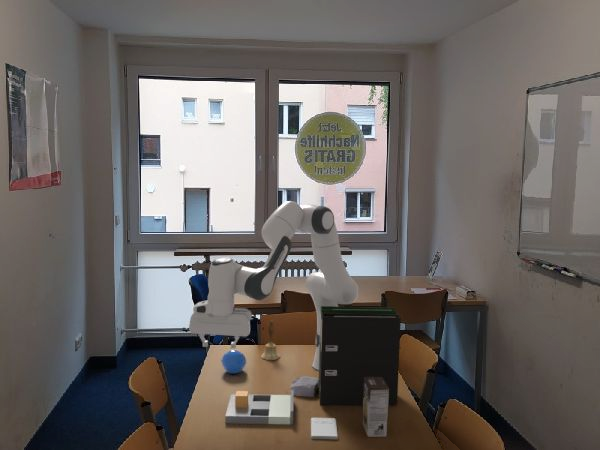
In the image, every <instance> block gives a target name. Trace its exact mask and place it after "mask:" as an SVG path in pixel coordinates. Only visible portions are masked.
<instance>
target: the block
mask: <svg viewBox="0 0 600 450" xmlns="http://www.w3.org/2000/svg"><path fill="white" fill-rule="evenodd" d="M235 394H236V395H235V407H246V408H247V406H248V394H249V391H248V390H236V392H235Z"/></svg>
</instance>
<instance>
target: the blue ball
mask: <svg viewBox="0 0 600 450" xmlns="http://www.w3.org/2000/svg"><path fill="white" fill-rule="evenodd" d="M221 358H222V359H220V361H221V365H222V367H223V369H224V370H225V372H227V373H229V374H232V375H233V374H239V373H241V372H242V371H243V370H244V369H245V367H246V365H247V358H246V356H245V355H244V353H243V352H241V351H239V350H234V349H233V350H229V351H227V352H225V353H224V354H223V356H222V357H221Z"/></svg>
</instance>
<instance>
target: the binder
mask: <svg viewBox="0 0 600 450" xmlns="http://www.w3.org/2000/svg"><path fill="white" fill-rule="evenodd" d="M401 320H402V317H400V315H399V314H397V310H395V307H374V306H373V307H372V306H371V307H367V306H366V307H365V306H363V307H362V306H338V307H336V306H321V309H320V349H319V370H318V378H319V386H318V396H319V397H318V398H319V407H321V406H323V407H334V406H335V407H338V406H339V407H363V388H364V377H383V379H384V381H385V382H386V384H387V386H388V387H389V398H388V407H390V406H389V405H397V406H398V397H399V396H398V393H399V390H398V389H399V371H400V370H399V369H400V368H399V367H400V347H401V346H400V345H401V344H400V343H401Z"/></svg>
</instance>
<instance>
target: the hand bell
mask: <svg viewBox="0 0 600 450" xmlns="http://www.w3.org/2000/svg"><path fill="white" fill-rule="evenodd" d="M267 329H268V343H266V344H265V348H264V352H263V353H262V354H261V356H260V358H261V359H262V360H266V361H276V360H279V359H280V358H281V355H280V353H279V352H278V351H277V346H276V344H275V343H274V341H273V340H274V339H273V338H274V333H275V324H274V320H270V321H269V323H268V327H267Z"/></svg>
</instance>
